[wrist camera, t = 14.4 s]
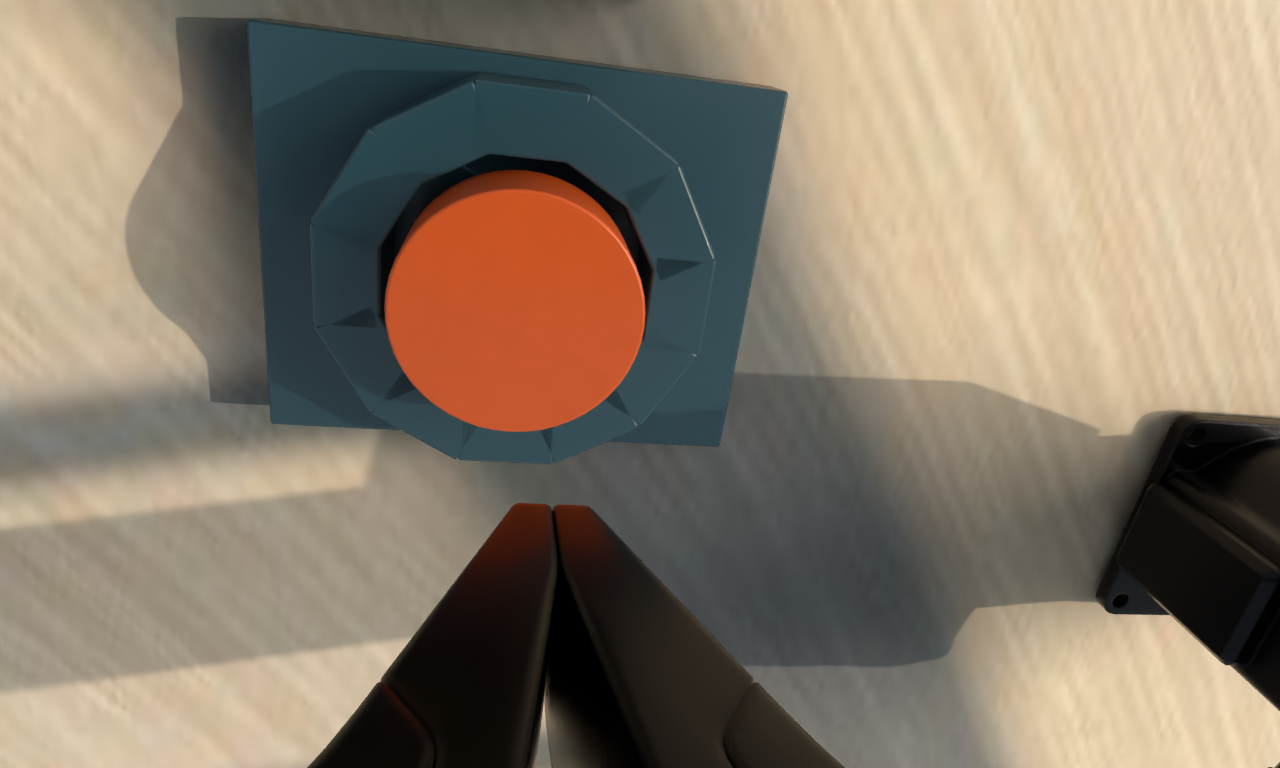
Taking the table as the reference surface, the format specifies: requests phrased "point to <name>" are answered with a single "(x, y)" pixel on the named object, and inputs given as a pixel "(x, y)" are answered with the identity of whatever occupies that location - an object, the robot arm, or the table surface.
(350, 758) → the robot arm
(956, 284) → the table surface
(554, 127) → the dock switch
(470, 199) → the button
